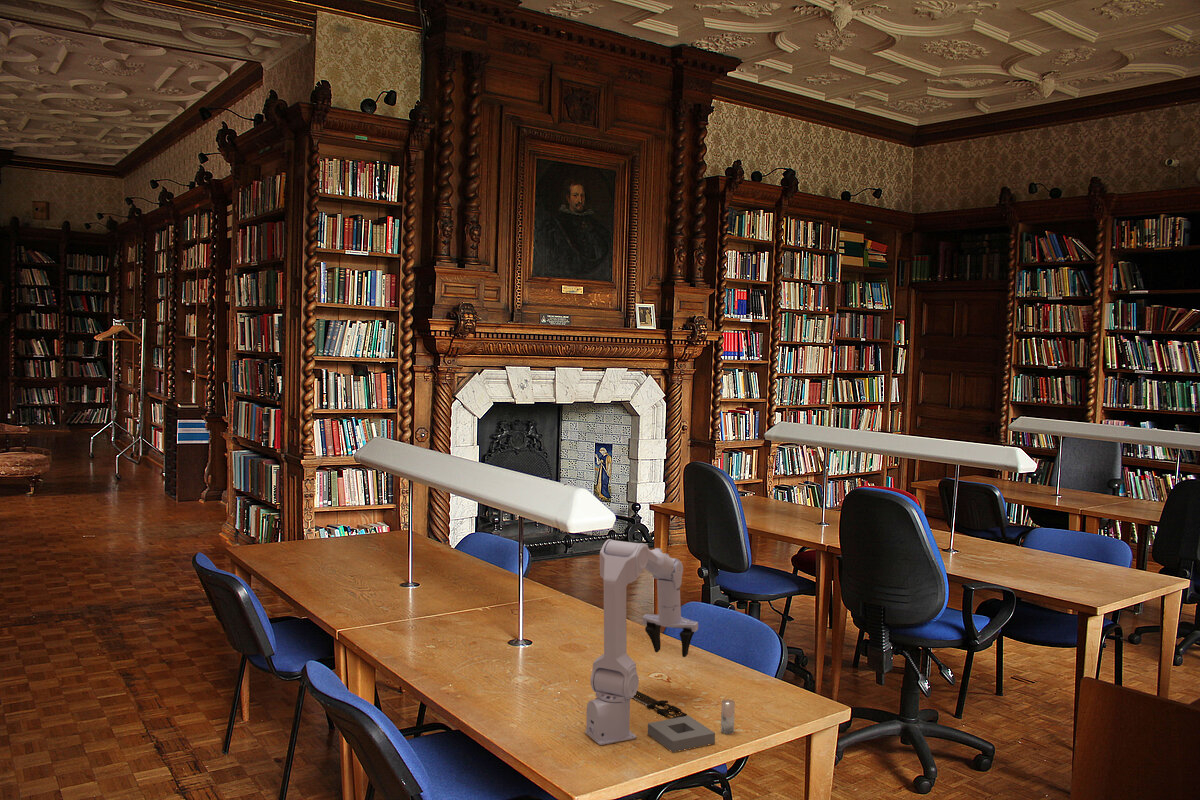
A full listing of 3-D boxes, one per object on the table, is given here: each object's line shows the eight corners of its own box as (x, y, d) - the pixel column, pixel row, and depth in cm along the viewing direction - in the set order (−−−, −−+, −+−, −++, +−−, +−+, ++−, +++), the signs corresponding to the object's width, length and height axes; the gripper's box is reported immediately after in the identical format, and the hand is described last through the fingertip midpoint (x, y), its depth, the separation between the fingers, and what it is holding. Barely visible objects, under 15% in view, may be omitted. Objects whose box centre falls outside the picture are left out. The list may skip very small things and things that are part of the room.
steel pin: (725, 735, 211) (726, 705, 211) (718, 730, 214) (719, 700, 214) (736, 733, 213) (737, 703, 212) (729, 728, 215) (729, 698, 215)
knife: (612, 690, 240) (612, 685, 240) (633, 686, 243) (633, 681, 243) (668, 724, 218) (668, 718, 218) (690, 719, 222) (690, 713, 221)
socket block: (672, 752, 202) (672, 741, 201) (647, 733, 211) (647, 723, 211) (714, 743, 207) (715, 732, 206) (688, 726, 216) (688, 715, 216)
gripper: (701, 600, 235) (703, 650, 237) (649, 593, 241) (651, 642, 244) (691, 611, 229) (693, 662, 231) (638, 603, 235) (640, 653, 238)
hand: (671, 653), depth 237 cm, fingers open, 7 cm apart
